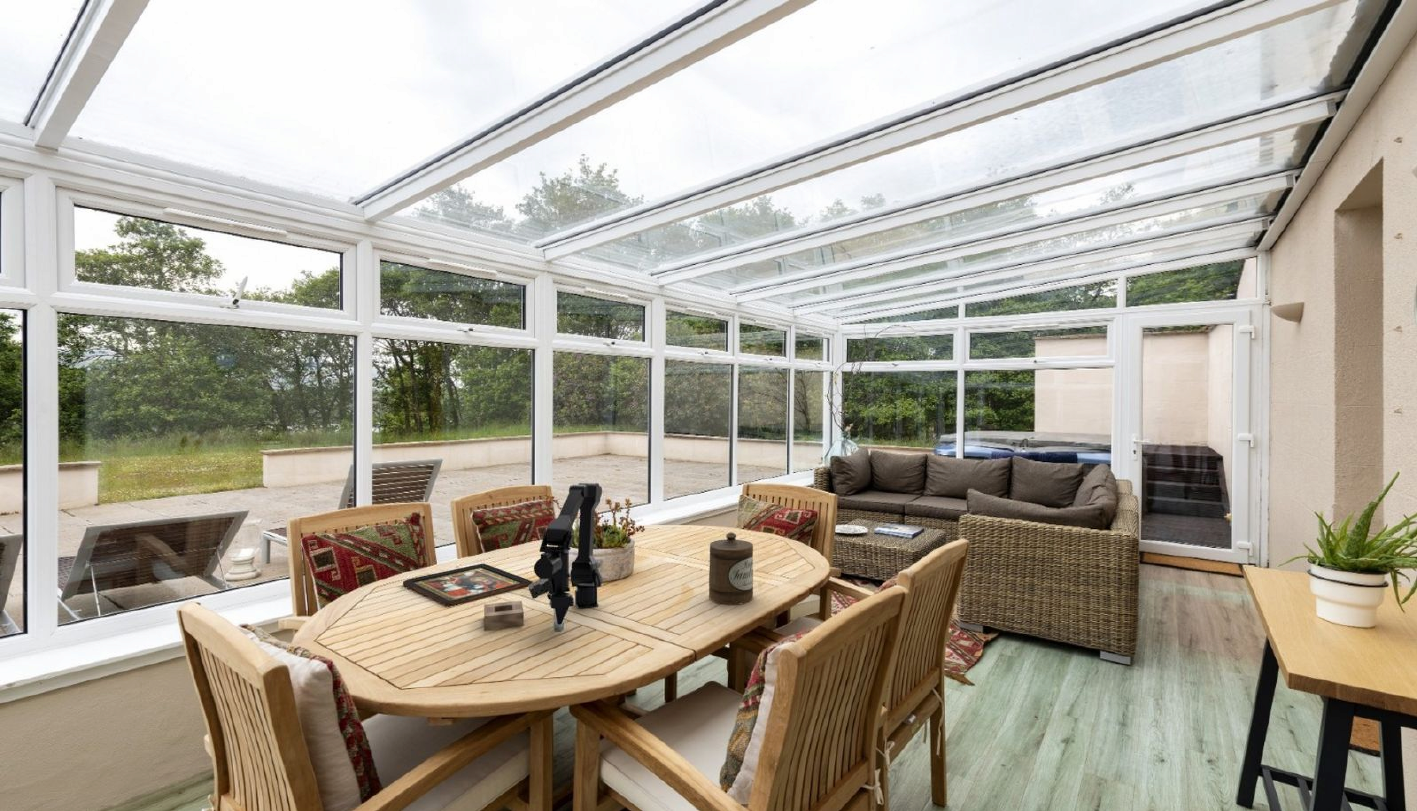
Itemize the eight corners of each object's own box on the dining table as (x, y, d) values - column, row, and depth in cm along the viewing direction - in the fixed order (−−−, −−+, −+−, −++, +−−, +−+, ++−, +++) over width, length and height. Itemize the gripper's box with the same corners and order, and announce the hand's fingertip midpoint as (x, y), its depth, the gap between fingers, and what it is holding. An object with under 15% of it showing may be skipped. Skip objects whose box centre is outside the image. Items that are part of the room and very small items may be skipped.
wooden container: (740, 607, 201) (740, 539, 201) (701, 600, 209) (701, 534, 208) (760, 595, 214) (760, 530, 214) (722, 588, 221) (722, 526, 221)
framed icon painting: (391, 589, 221) (391, 581, 221) (478, 567, 250) (478, 560, 250) (454, 612, 199) (454, 603, 199) (541, 585, 228) (541, 577, 228)
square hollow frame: (521, 613, 196) (521, 600, 195) (523, 625, 185) (523, 612, 185) (484, 617, 192) (484, 604, 192) (484, 630, 181) (484, 616, 181)
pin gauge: (563, 626, 184) (563, 599, 184) (564, 630, 181) (564, 603, 181) (553, 628, 183) (553, 600, 183) (554, 631, 180) (554, 604, 180)
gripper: (527, 563, 188) (528, 615, 188) (532, 580, 171) (532, 637, 171) (565, 560, 192) (565, 610, 192) (573, 576, 174) (574, 632, 175)
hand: (558, 622), depth 182 cm, fingers closed on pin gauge, 3 cm apart
